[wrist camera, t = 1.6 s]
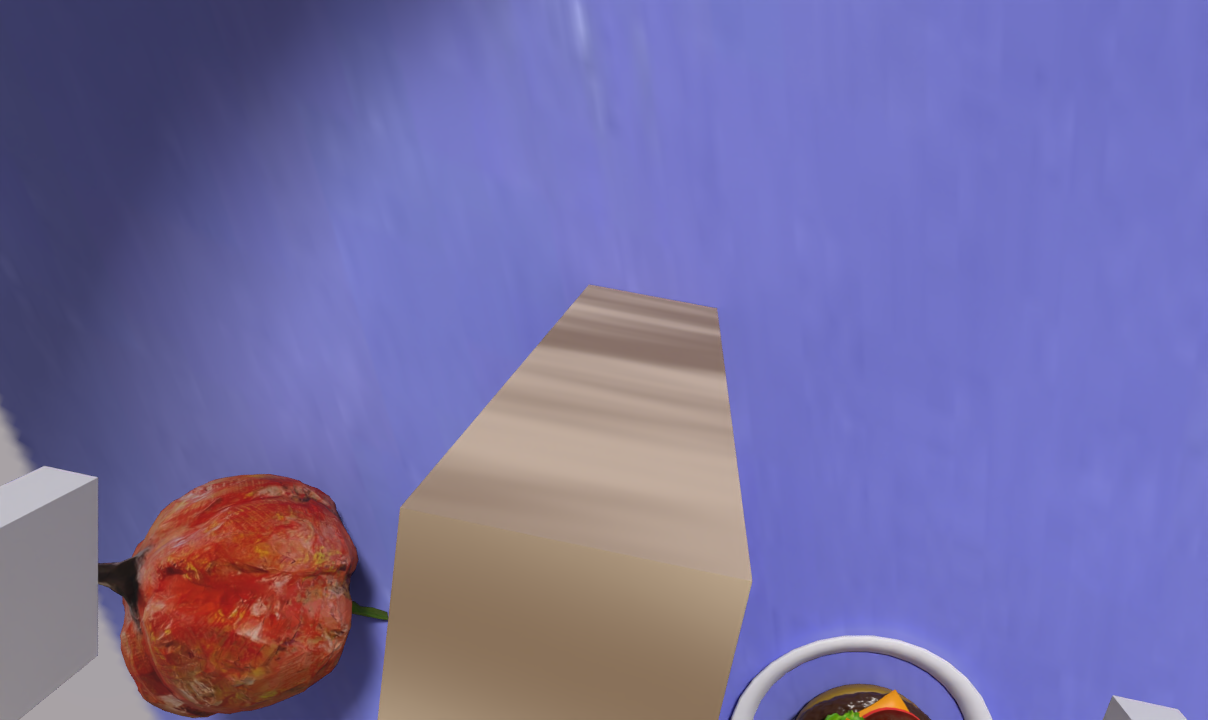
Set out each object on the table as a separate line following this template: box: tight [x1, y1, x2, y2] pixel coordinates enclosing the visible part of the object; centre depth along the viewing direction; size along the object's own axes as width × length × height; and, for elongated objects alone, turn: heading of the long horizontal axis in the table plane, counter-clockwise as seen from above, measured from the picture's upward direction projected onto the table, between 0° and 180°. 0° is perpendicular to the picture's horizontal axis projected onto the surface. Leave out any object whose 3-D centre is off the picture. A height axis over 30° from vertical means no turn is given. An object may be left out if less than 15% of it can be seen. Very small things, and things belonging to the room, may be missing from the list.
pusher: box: [378, 285, 752, 720], centre depth 19 cm, size 18×4×16 cm, turn 170°
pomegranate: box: [98, 474, 388, 718], centre depth 25 cm, size 7×7×10 cm
